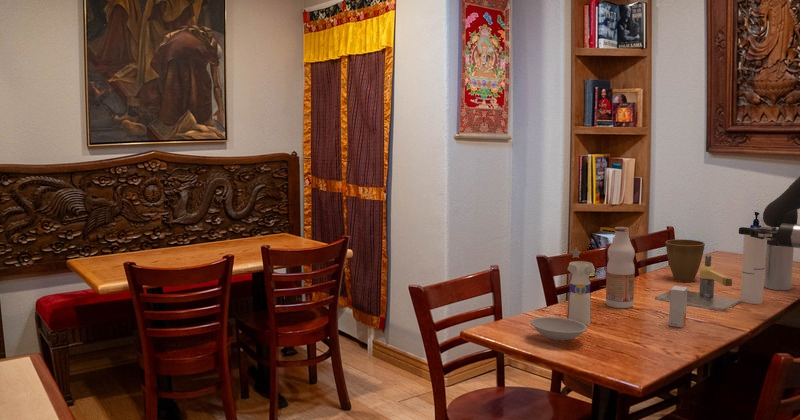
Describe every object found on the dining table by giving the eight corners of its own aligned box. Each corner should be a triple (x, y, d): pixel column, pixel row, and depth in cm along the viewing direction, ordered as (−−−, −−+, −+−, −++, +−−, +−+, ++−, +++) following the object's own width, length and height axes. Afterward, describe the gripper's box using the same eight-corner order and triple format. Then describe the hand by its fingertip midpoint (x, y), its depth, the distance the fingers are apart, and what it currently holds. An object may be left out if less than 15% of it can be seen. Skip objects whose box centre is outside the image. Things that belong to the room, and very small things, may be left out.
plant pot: (674, 274, 293) (675, 237, 291) (709, 280, 282) (711, 242, 281) (657, 280, 283) (659, 242, 281) (693, 286, 272) (694, 246, 271)
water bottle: (594, 325, 219) (596, 249, 216) (566, 324, 221) (568, 248, 218) (592, 318, 227) (594, 244, 224) (565, 317, 229) (567, 243, 226)
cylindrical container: (765, 304, 244) (769, 235, 241) (743, 303, 246) (747, 234, 243) (759, 299, 251) (763, 232, 248) (738, 298, 253) (741, 231, 250)
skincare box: (682, 328, 216) (684, 290, 215) (668, 326, 219) (670, 289, 217) (686, 323, 222) (687, 287, 220) (672, 321, 224) (673, 285, 222)
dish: (519, 339, 206) (519, 323, 206) (547, 329, 216) (548, 314, 215) (569, 353, 193) (570, 335, 193) (597, 342, 203) (597, 325, 202)
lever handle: (697, 276, 254) (698, 264, 254) (710, 276, 254) (711, 264, 254) (721, 288, 235) (722, 276, 234) (735, 288, 235) (736, 276, 234)
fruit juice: (610, 309, 239) (613, 229, 236) (602, 302, 249) (604, 225, 245) (637, 308, 240) (640, 229, 236) (627, 301, 249) (630, 225, 246)
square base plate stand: (675, 291, 264) (676, 250, 262) (740, 302, 247) (743, 258, 245) (654, 299, 252) (656, 256, 250) (722, 311, 235) (724, 265, 233)
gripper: (803, 222, 224) (747, 217, 237) (790, 226, 215) (732, 221, 227) (802, 244, 225) (746, 239, 238) (788, 250, 216) (731, 243, 228)
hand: (739, 230), depth 233 cm, fingers closed
